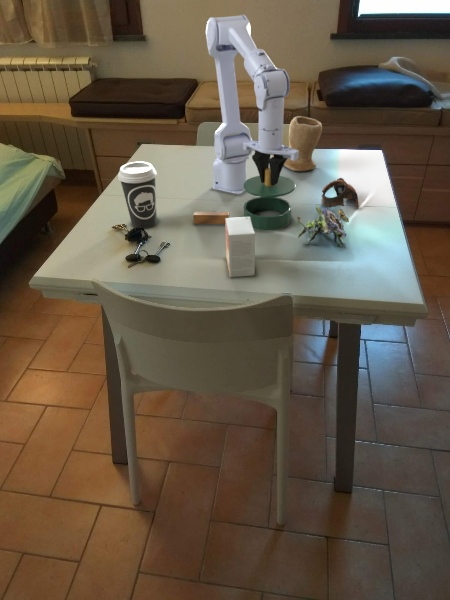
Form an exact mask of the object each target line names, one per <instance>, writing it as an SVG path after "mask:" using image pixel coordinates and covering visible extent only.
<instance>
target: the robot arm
mask: <svg viewBox="0 0 450 600" xmlns="http://www.w3.org/2000/svg"><path fill="white" fill-rule="evenodd" d="M206 23H207V24H206V26H205V36H206V37H205V38H206V45H207V50H208V55H209V56H210V57H212V58H214V64H215V65H214V66H215V71H216V72H215V73H216V79H217V80H216V81H217V88H218V95H219V104H220V112H221V120H222V123H221V125H220V126H219V127H218V128H217V130H215V132H214V136H213V137H214V144H213V148H214V153H215V156H216V157H215V159H214V161H213V164H212V182H213V187H212V189H214V190H218V191H222V192H227V193H232V194H236V195H240V194H242V193H243V192H245V190H244V187H243V185H244V182H245V181H246V180H248V179H247V172H248V171H247V160H250V156H251V159H252V161H253V162H254V164H255V166H256V168H257V171H258V176H260V179H261V183H264V182H265V169H266V168H270V170H271V185H275V184H277V183H278V179H279V176H281V173H282V170H283V167H285V166H284V164H285V162H286V160H287V159H288V158H289V159H291V160H293V161H295V160H297V159H298V157H299V150H295V149H292V148H290V147H289V146H287V145H286V144H283V137H284V116H285V115H284V113H285V112H284V111H285V110H284V109H285V108H284V107H285V98H287V97H288V95H289V94H290V89H291V80H290V77H289V74H288V72H287V70H286V69H284V68H280V67H276V66H275V64H274V62H272V59H271V58H270V57H269V55H268V54H267V52H266V51H265V50H264V49H263V48H258V47H257V45H256V43H255V41H254V40H253V38H252V36H251V24H250V21H249V18H248V17H247V16H246V15H245V14H240V15H231V16H219V17H214V16H213V17H209V18H208V21H207V22H206ZM238 54H239V55H240V56H241V57H242V58H243V67H244V70H245V71H246V72H247V74H248V76H249V77H250V79H251V80H252V82H253V83H254V84H253V90H254V95H255V100H256V102H255V103H256V107H257V108H258V132H257V133H258V140H253V139H252V135H251V130H250V128H249V127H248V126H247V125H245V124H244V123H243V122H241V114H240V103H239V95H238V94H239V93H238V86H237V77H236V68H235V58H236V56H237V55H238ZM252 152H254V153H253V154H252ZM271 155H274V157H272V156H271Z"/></svg>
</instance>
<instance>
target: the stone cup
mask: <svg viewBox="0 0 450 600" xmlns="http://www.w3.org/2000/svg"><path fill="white" fill-rule="evenodd" d="M288 128H289V130H288V147H290V148H292V149H295V150H299V157H298V159H297V160H295V161H293V160H291V159H289V158H288V159H287V160H286V162H285V164H284V166H283V167H286V168H287V169H289V170H290V171H293V172H308V171H312V170H313V169H315V168H316V167H317V164H316V163H315V162H314V160H313V153H314V151H315V149H316V147H317V145H318V143H319V141H320V139H321V137H322V136H321V135H322V133H323V125H322V122H321V121H319V120H318V119H315V118H312V117H307V116H301V115H300V116H298V115H297V116H295V117H293V119H291V121H290V124H289V127H288ZM270 157H271V158H272V157H274V155H271V156H270Z"/></svg>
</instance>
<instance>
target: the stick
mask: <svg viewBox="0 0 450 600" xmlns="http://www.w3.org/2000/svg"><path fill="white" fill-rule="evenodd" d="M225 218H230V212H229V211H194V213H193V224H195V225H196V224H198V225H225Z"/></svg>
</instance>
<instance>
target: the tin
mask: <svg viewBox="0 0 450 600" xmlns="http://www.w3.org/2000/svg"><path fill="white" fill-rule="evenodd" d="M292 207H293V206H292V204H291V203H290V202H289V201H288V200H287V199H284V198H281V197H260V196H256V197H253V198H250V199H249V200H247V201H245V202H244V204H243V207H242V208H243V209H242V210H243V211H242V212H243V213H242V214H243V215H242V217H250V218H251V222H252V226H253V229H254V230H258V231H275V230H278V229H283V228H284V227H287V226H288V225H289V224H290V223H291V221H292V209H293V208H292ZM261 210H270V211H271V210H273V211H277V212H278V211H279V212H281V214H276V215H269V216H268V215H258V214H254V212H256V211H261Z"/></svg>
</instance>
